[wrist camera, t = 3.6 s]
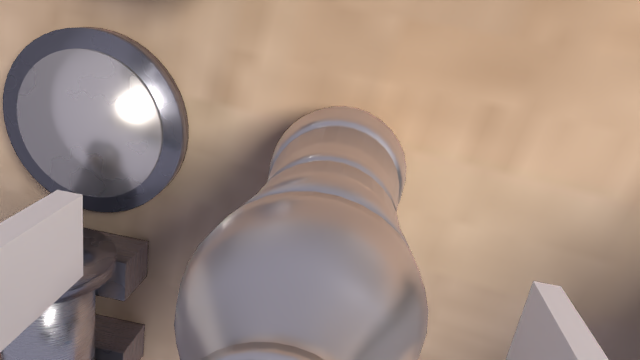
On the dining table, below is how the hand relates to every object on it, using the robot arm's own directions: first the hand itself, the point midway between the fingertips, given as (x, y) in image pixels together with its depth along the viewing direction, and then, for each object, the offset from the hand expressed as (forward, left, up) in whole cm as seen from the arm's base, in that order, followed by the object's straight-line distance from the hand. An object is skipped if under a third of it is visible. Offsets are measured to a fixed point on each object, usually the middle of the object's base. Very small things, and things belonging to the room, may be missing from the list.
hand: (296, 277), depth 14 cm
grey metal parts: (+13, -6, -13) cm, 19 cm away
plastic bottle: (0, 0, -13) cm, 13 cm away
